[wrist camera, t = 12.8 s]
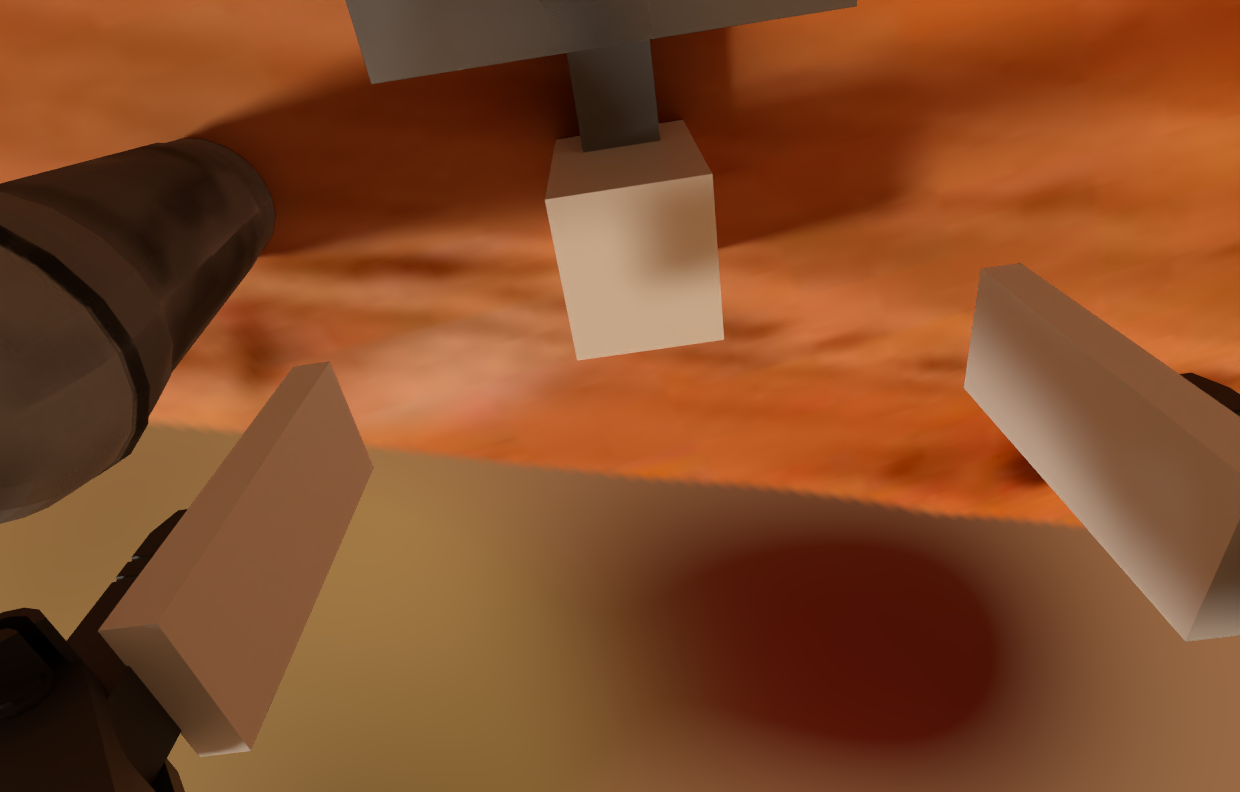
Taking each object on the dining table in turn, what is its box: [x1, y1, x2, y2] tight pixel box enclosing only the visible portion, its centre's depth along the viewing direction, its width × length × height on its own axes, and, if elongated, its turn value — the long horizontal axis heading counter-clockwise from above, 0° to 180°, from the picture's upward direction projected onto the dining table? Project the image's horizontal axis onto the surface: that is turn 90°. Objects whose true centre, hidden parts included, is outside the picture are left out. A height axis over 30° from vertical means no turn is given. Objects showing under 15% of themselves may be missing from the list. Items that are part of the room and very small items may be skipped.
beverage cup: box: [0, 138, 275, 524], centre depth 17 cm, size 7×7×20 cm
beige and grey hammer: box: [545, 40, 724, 360], centre depth 20 cm, size 16×4×7 cm, turn 8°
